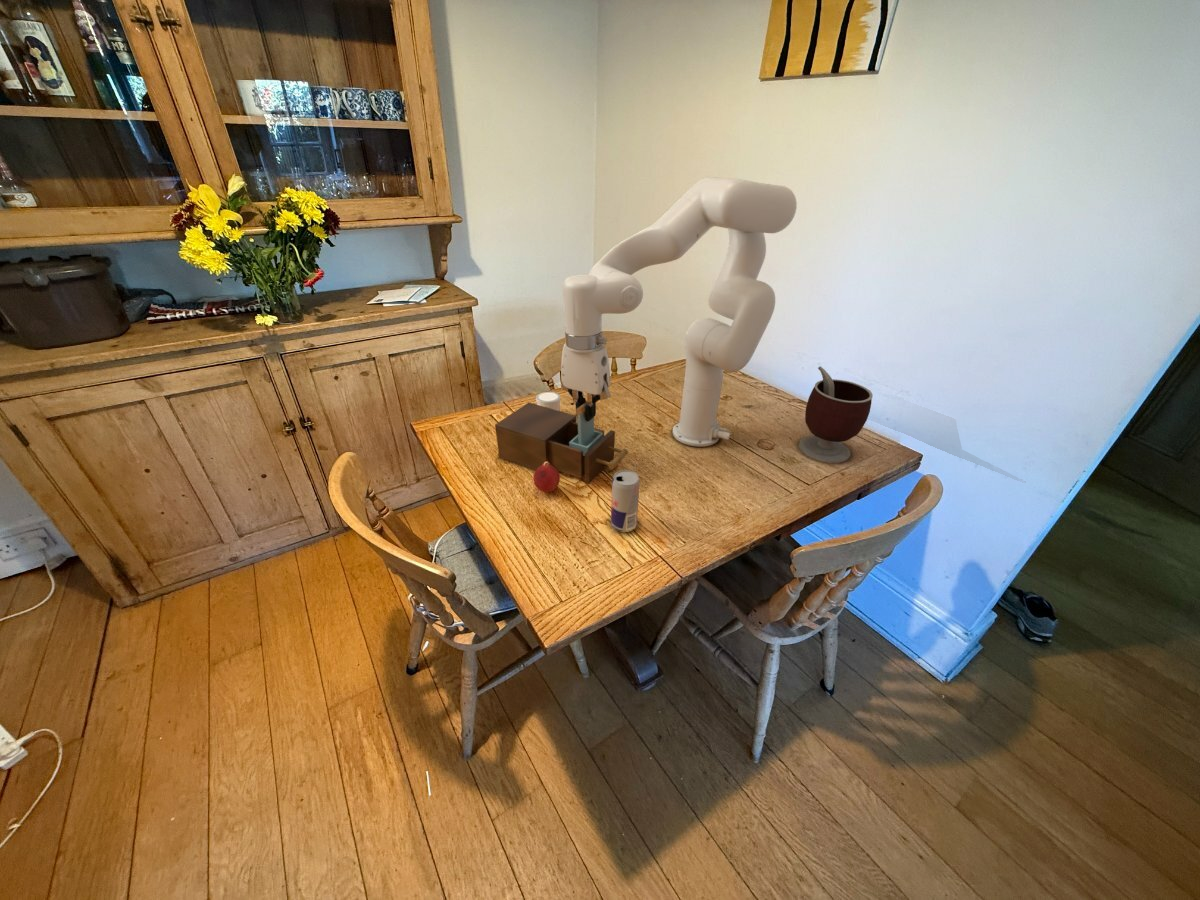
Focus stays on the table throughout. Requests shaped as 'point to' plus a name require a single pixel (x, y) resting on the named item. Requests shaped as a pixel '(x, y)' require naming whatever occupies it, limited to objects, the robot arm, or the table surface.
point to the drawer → (573, 458)
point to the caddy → (585, 432)
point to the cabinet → (529, 434)
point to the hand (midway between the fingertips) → (585, 417)
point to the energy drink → (625, 500)
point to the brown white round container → (549, 400)
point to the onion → (546, 477)
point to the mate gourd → (834, 418)
